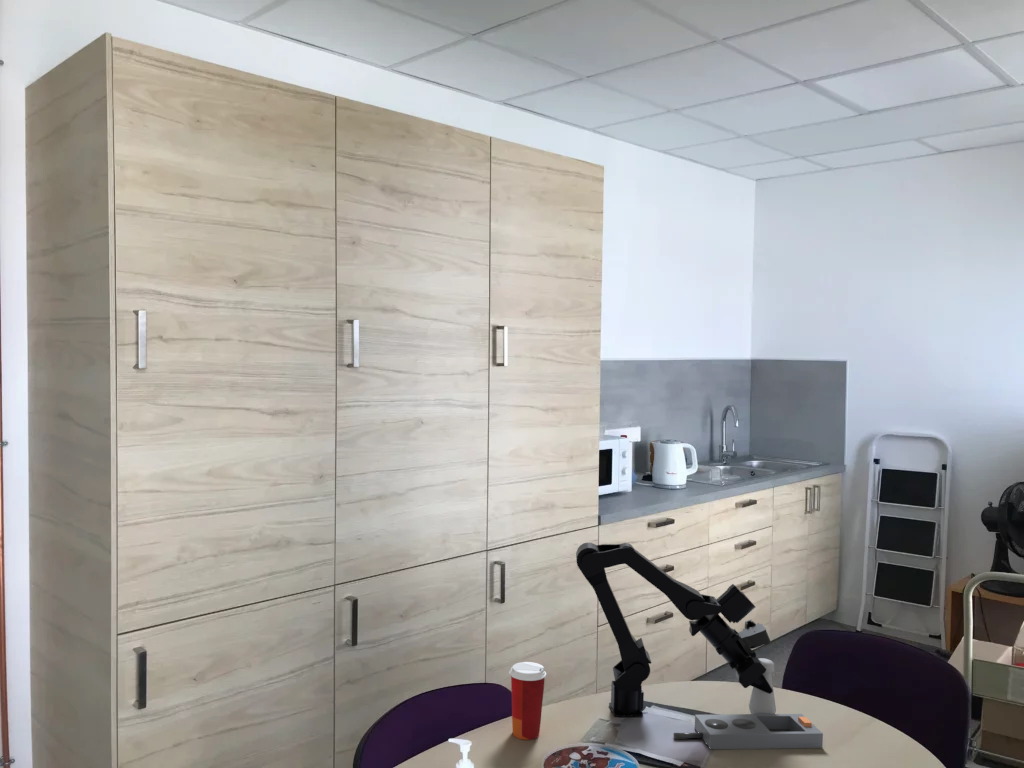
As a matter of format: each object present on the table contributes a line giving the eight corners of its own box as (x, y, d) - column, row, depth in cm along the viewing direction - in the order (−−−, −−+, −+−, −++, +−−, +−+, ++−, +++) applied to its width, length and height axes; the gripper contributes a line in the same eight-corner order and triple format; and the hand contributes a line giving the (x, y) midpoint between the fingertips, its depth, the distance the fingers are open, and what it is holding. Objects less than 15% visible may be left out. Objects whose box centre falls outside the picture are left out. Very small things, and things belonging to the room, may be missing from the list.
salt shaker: (776, 725, 175) (779, 666, 174) (749, 721, 176) (752, 663, 176) (773, 714, 180) (776, 657, 180) (747, 711, 181) (749, 654, 181)
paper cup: (548, 729, 169) (550, 664, 169) (538, 745, 162) (540, 676, 162) (513, 723, 172) (516, 658, 172) (501, 738, 165) (504, 670, 164)
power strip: (681, 749, 162) (681, 730, 162) (667, 728, 172) (668, 711, 172) (822, 747, 165) (823, 729, 165) (801, 727, 174) (801, 710, 174)
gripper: (758, 625, 169) (808, 681, 168) (739, 601, 187) (785, 651, 187) (718, 659, 170) (769, 715, 169) (704, 632, 188) (749, 682, 187)
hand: (769, 689), depth 178 cm, fingers closed on salt shaker, 3 cm apart
